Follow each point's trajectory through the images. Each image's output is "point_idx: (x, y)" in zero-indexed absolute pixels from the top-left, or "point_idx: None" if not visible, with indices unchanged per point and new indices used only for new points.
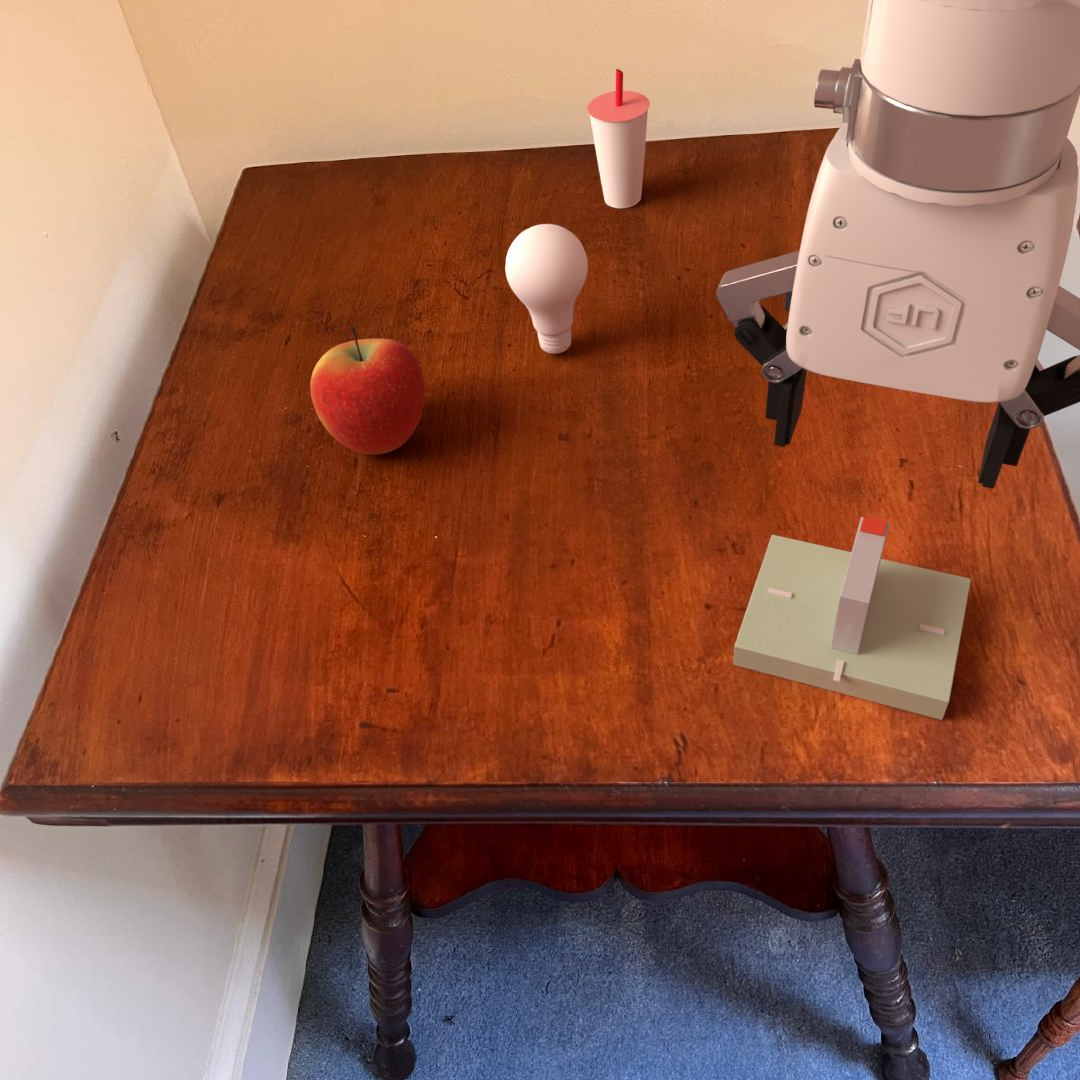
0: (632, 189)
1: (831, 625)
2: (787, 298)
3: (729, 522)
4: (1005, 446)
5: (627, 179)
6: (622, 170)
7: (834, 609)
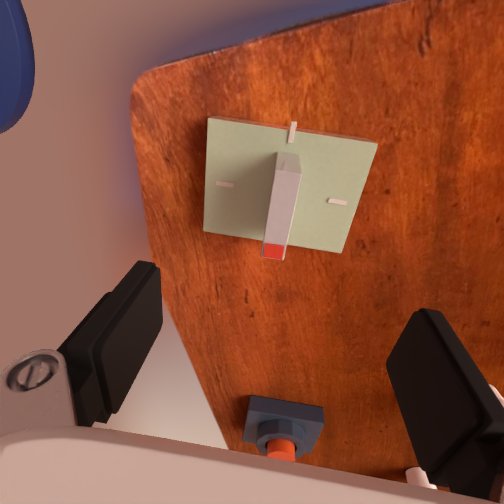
0: (415, 481)
1: None
2: (322, 415)
3: (365, 264)
4: (96, 316)
5: None
6: None
7: None
